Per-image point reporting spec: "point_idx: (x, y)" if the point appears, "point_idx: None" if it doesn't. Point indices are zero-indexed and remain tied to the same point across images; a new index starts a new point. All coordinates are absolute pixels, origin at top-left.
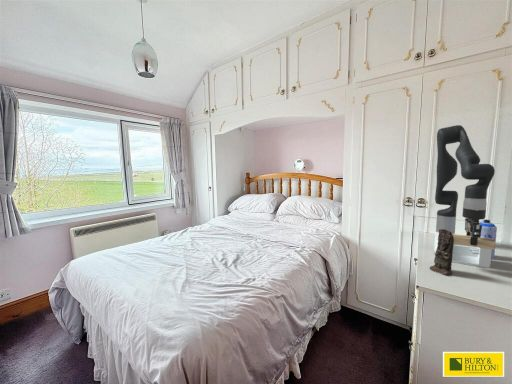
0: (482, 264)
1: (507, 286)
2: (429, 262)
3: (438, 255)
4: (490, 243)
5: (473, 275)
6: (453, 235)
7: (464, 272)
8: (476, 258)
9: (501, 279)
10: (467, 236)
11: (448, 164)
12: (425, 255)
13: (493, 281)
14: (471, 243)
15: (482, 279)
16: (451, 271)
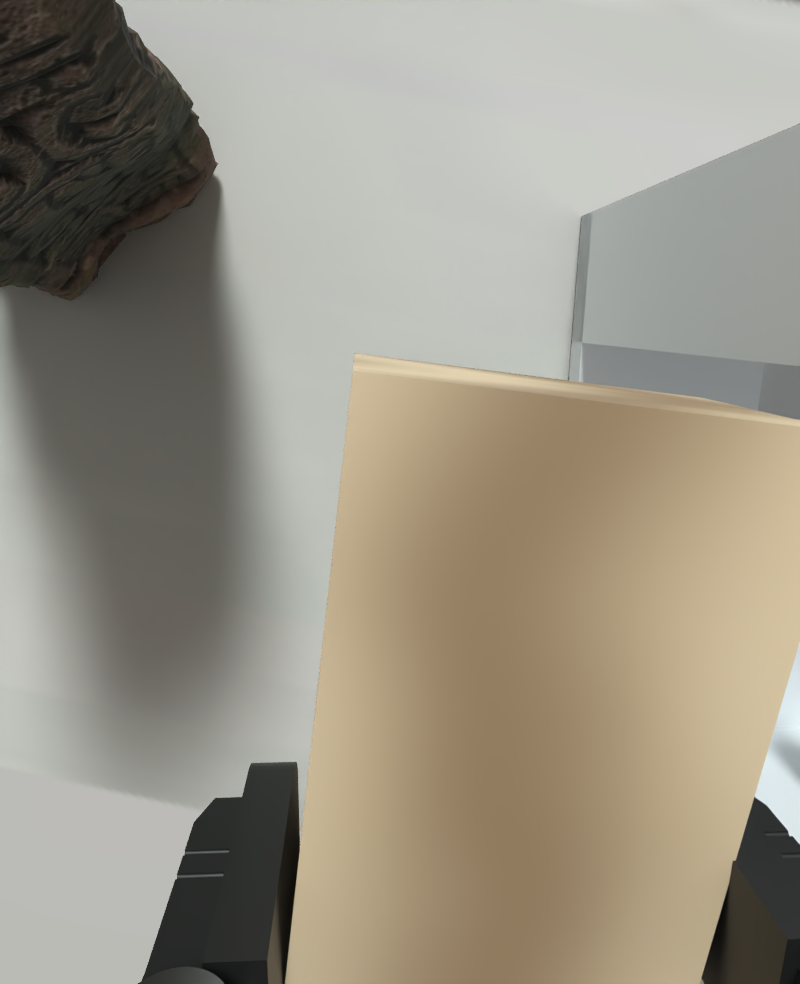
0: None
1: (32, 773)
2: (408, 63)
3: None
4: None
5: (176, 542)
6: (580, 453)
7: (228, 467)
8: (789, 705)
9: (219, 773)
10: (614, 858)
11: None
12: (742, 58)
13: (101, 691)
14: (244, 798)
15: (94, 603)
16: (40, 289)
